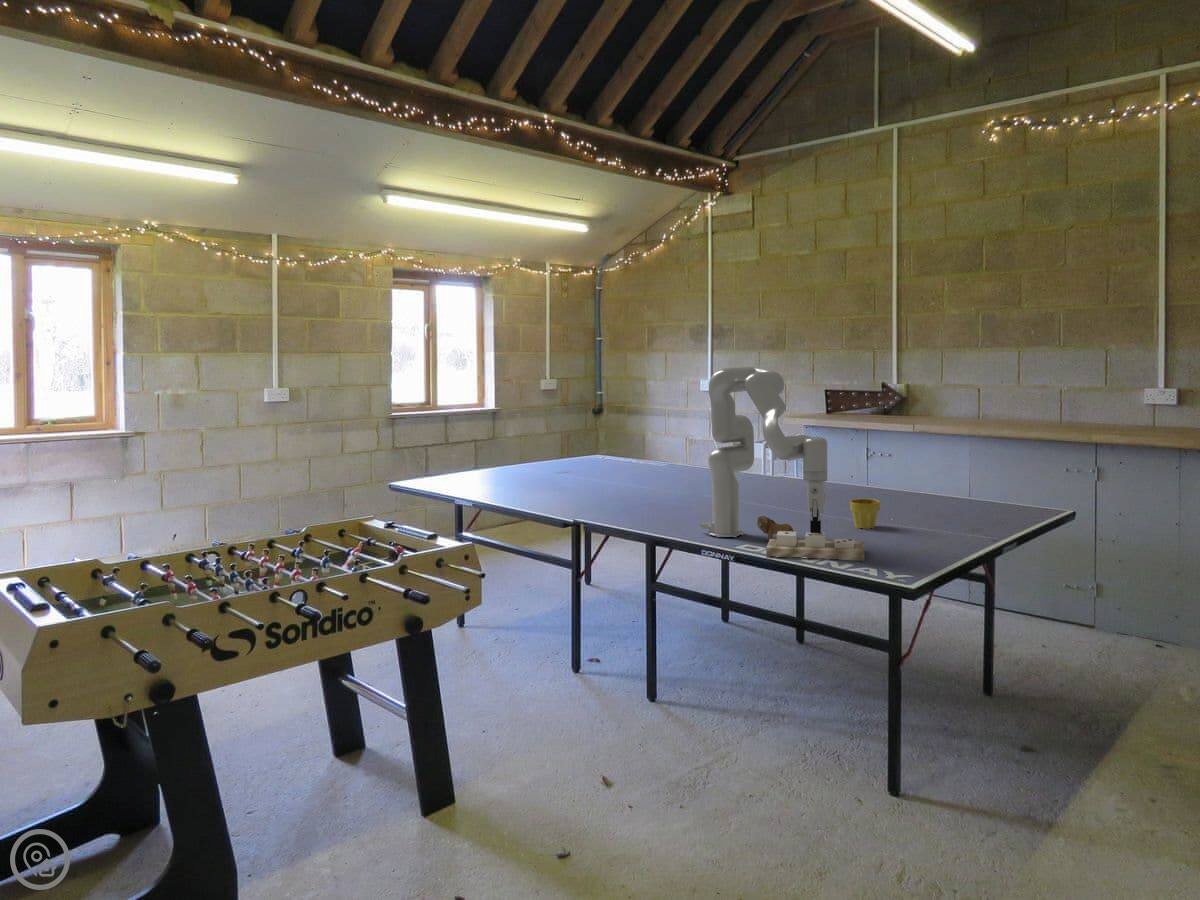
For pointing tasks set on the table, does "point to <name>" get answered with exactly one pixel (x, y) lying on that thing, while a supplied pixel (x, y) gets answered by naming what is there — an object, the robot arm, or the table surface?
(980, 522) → the table surface
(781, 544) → the tile one
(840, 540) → the tile three
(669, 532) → the table surface
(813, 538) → the tile two
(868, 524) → the plant pot
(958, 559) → the table surface
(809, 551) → the board
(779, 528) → the lion figurine
